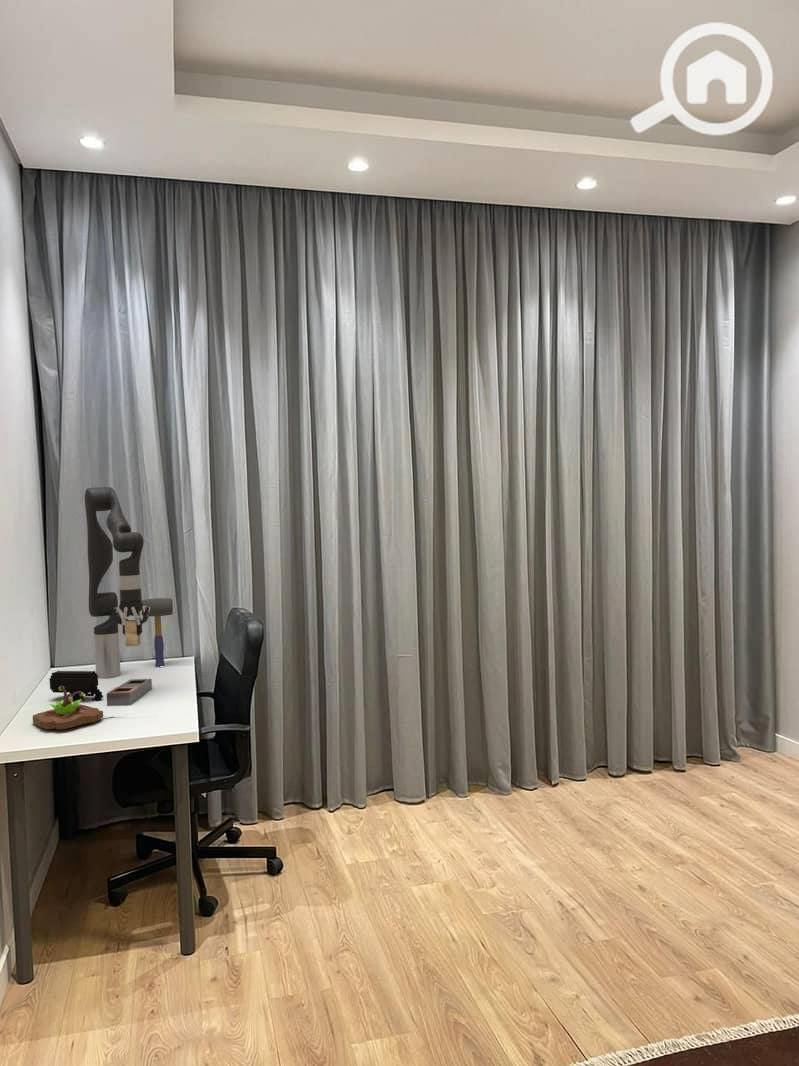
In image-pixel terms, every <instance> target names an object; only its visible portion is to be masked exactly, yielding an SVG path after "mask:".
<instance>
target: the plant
mask: <svg viewBox="0 0 799 1066" xmlns="http://www.w3.org/2000/svg"><path fill="white" fill-rule="evenodd" d="M59 690H60V691H62V690H63V692H64V693H63V699H61V701H60V702H59V701H55V704H53V703H49V704H48V705H49V706H50V707H52V708H53V709H48V710H45V711H41V712H38V713H35V714H33V715H32V723H33V724H34V725H36V726H37V727H39V729H40V728H41V729H45V730H52V729H53V730H54V729H55V730H65V729H71V728H74V727H77V726H81V725H86V724H89V723H95V722H97V721H99V720H101V719H102V718H104V711H103V710H100V709H99V708H97V707H92V706H89V705H86V704H81V703H80V702H82V700H81V699H80V700H75V701H74V700H73V696H74V695H75V694H77V693H79V695H80V696H85V694H83V692H81V691H77V692H75V693H73V694H72V696H71V694H70V693H66V690H65V688H64V686H60V687H59ZM73 701H74V702H73Z"/></svg>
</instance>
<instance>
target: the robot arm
mask: <svg viewBox="0 0 799 1066" xmlns="http://www.w3.org/2000/svg"><path fill="white" fill-rule="evenodd" d="M84 508H85V509H84V510H85V518H86V527H87V530H86V531H87V564H88V566H87V567H88V613H89V615H90V616H91V617H92V618H93V617H94V618H97V617H99V618H100V617H108V619H106V620H105V621H104V622H102V623H100V624H98V625H96V626H94V627H93V639H94V640H93V641H94V643H93V644H94V662H95V663H94V665H95V673H97V675H98V679H113V678H117V676H118V677H120V676H121V673H122V672H121V658H120V657H121V655H120V636H119V635H120V634H119V633H120V632H119V625H121V627H122V634H123V636H125V621H127V620H129V618H130V617H133V618H134V620H136V622H137V635H140V636H141V634H142V633H143V624H145V623H147V622H148V620H149V617H150V616H149V613H150V609H151V607H150V606H148V607H147V606H144V605H143V603H142V600H143V597H142V580H141V571H140V568H141V567H140V565H141V564H140V561H141V556H142V552H143V548H144V543H145V542H144V537H143V535H142V533H140V532H136V531H134V532H133V531H132V528H131V526H130V524H129V522H128V520H127V519H126V517H125V516H124V513H123V511H122V506H121V505H120V501H119V499H118V496H117V494H116V491H115V490H114V489H113V487H111V486H100V487H99V486H98V487H88V488H86V489H85V493H84ZM108 511H109V513H108V515H107V517H106V526H107V529H108V531H109V532H110V534H111V536H112V540H111V538H110V537H109V536H108V535H107V533H106V532H105V531H104V529H103V528H102V526H101V525H100V523H99V519H98V518H97V512H108ZM114 551H116V552H118V553H131V554H130V556H129V557H127V558H124V559H121V560H119V563H118V569H119V574H118V575H119V580H118V581H119V582H118V589H119V597H118V595H117V593H116V592H115V591H114V592H113V591H112V592H111V591H110V592H108V591H107V592H98V590H99V587H100V584H101V582H102V580H103V578H104V577H105V575H106V574H107V572H108V570H109V569H110V567H111V565H112V563H113V560H114ZM118 598H119V600H118ZM142 608H143V611H144V615H143V616H142V614H141V613H140V612H142V611H141V610H142ZM120 612H122V613H123V614H122V617H121V615H120Z"/></svg>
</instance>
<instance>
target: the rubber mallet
mask: <svg viewBox="0 0 799 1066" xmlns="http://www.w3.org/2000/svg"><path fill="white" fill-rule="evenodd" d="M142 603H143V605H144V606H147V607H148V606H150V607H151V609H150V613H149V616H148V617H154V639H153V640H154V641H153V642H154V643H153V645H154V647H153V649H154V655H155V663H154V667H155V666H156V667H155V668H157V667H159V668H161V667H160V666H164V665H165V666H166V664H165V659H164V657H165V656H164V655H165V654H164V651H165V648H164V647H165V642H164V637H163V634H162V633H163V631H162V630H163V629H162V617H165V616H172V615H173V614H174V605H173V599H172V598H168V597H167V598H166V597H165V598H163V597H162V598H161V597H159V598H158V597H157V598H147V599H142ZM140 612H141V617H143V615H144V611H143V608H142V610H141V611H140ZM165 666H164V667H165Z"/></svg>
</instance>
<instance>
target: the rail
mask: <svg viewBox="0 0 799 1066" xmlns="http://www.w3.org/2000/svg"><path fill="white" fill-rule="evenodd" d="M152 682H153V680H152V678H137V679H136V678H135V679H133V678H132V679H129V680H127V681H125V682H124V683H121V685H119V686H116V687H114V688H112V689H111V690H109V691H107V692H106V706H108V707H109V706H131V705H132V704H134V703H135V702H137V701H138V700H139V699H141V698H142V697H144V696H145V695H146V694H148V692H150V691H151V690H153V683H152Z"/></svg>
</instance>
